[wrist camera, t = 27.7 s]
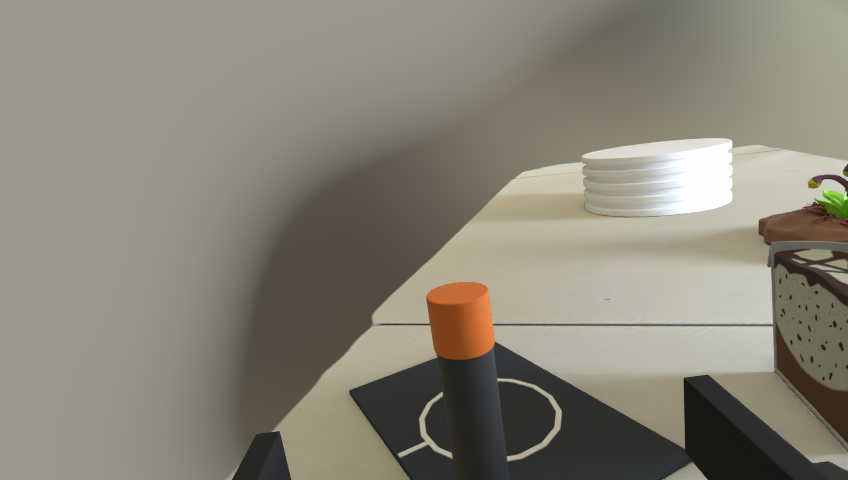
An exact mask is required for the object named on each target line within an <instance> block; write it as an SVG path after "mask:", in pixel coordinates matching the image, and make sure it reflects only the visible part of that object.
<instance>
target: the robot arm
mask: <svg viewBox="0 0 848 480" xmlns="http://www.w3.org/2000/svg"><path fill="white" fill-rule="evenodd" d="M684 416H685V453H686V454H687V455H688V456H689V458H690V459H691V460H692V461H693V463H694V464H695V465H696V466H697V467H698V469H699V470H700V471H701V472H702V473H703V475H704V476H705V477H706V478H707V479H708V480H848V471H846V470H844V469H842V468H840V467H838V466H837V465H835V464H833V463H831V462H829V461H827V462H819V463H812V462H810V461H809V460H808V459H807V458H806V457H805V456H803V455H802V454H801V453H800V452H799V451H797V450H796V449H795V448H794V447H793V446H792V445H790V444H789V443H788V442H787V441H786V440H784V439H783V438H782V437H781V436H780V435H779V434H777V433H776V432H775V431H774V430H773V429H771V428H770V427H769V426H768V425H767V424H766V423H764V422H763V421H762V420H761V419H760V418H758V417H757V416H756V415H755V414H754V413H752V412H751V411H750V410H749V409H748V408H747V407H745V406H744V405H743V404H742V403H741V402H739V401H738V400H737V399H736V398H735V397H734V396H732V395H731V394H730V393H729V392H728V391H726V390H725V389H724V388H723V387H722V386H721V385H719V384H718V383H717V382H716V381H715V380H713V379H712V378H711V377H710V376H709V375H702V376H694V377H687V378H684ZM232 480H291V477H290V473H289V469H288V464H287V460H286V456H285V452H284V447H283V443H282V439H281V435H280V431H277V432H270V433H263V434H257V435H256V436H255V438H254V440H253V442H252V444H251V445H250V447H249V449H248V451H247V453H246V455H245V457H244V458H243V460H242V462H241V464H240V466H239V468H238V470H237V472H236V473H235V475H234V477H233V479H232Z"/></svg>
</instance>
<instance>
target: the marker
mask: <svg viewBox="0 0 848 480" xmlns="http://www.w3.org/2000/svg"><path fill="white" fill-rule="evenodd" d="M426 299H427V306H428V312H429V319H430V326H431V332H432V339H433V345H434V350H435V352H436V354H437V359H438V365H439V372H440V379H441V385H442V392H443V399H444V405H445V412H446V418H447V425H448V432H449V438H450V445H451V451H452V458H453V465H454V471H455V478H456V480H510V479H509V470H508V462H507V454H506V446H505V438H504V430H503V421H502V413H501V405H500V397H499V389H498V381H497V372H496V364H495V356H494V348H493V346H494V344H495V340H494V332H493V324H492V315H491V307H490V299H489V291H488V288H487V287H486V286H485V285H483V284H480V283H474V282H459V283H451V284H447V285H443V286H440V287H437V288H435V289H433V290H431V291H430V292H429V293H428V294H427V297H426Z"/></svg>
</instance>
